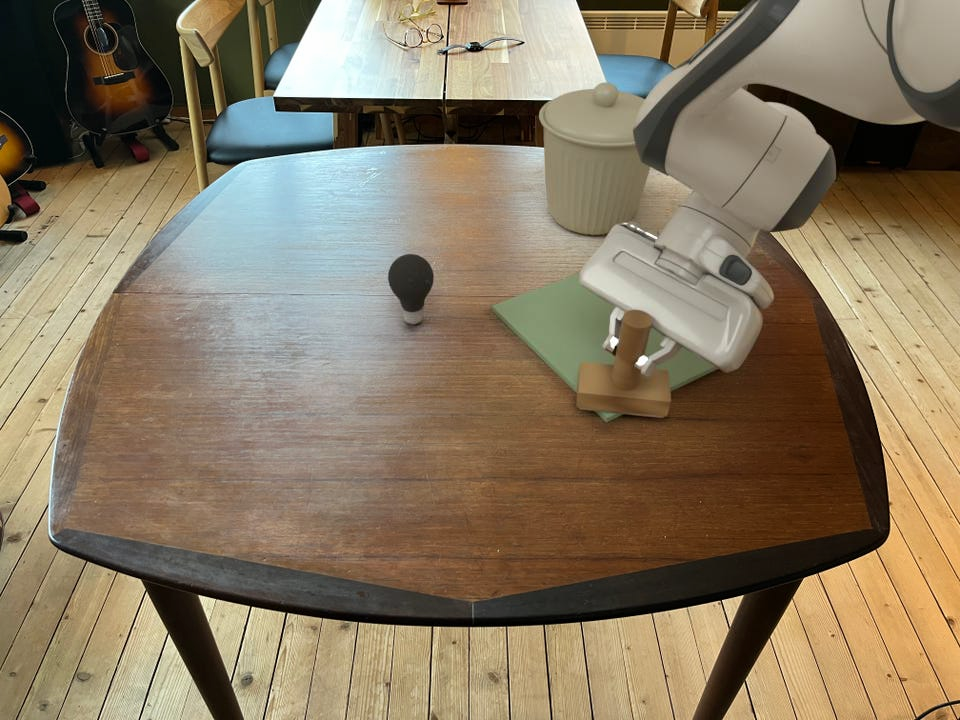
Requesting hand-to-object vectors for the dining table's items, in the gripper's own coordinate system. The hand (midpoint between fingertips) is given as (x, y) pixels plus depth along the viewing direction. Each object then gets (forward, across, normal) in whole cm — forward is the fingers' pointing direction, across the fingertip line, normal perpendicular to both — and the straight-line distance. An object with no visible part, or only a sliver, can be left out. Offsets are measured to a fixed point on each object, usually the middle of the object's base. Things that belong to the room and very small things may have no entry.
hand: (624, 362), depth 79 cm
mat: (-2, -9, +12) cm, 15 cm away
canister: (-16, -30, +26) cm, 43 cm away
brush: (+4, 0, +5) cm, 6 cm away
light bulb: (+10, -28, 0) cm, 30 cm away
